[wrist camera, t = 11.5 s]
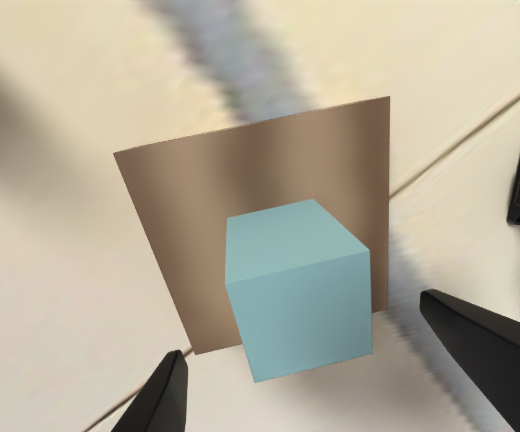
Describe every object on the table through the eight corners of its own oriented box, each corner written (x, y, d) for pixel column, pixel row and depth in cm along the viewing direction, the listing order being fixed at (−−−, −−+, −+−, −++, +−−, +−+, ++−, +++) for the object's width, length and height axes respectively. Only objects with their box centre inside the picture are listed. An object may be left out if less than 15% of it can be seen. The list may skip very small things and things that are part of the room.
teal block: (313, 198, 14) (369, 250, 8) (321, 271, 16) (372, 353, 10) (227, 217, 14) (224, 284, 8) (245, 289, 15) (254, 382, 10)
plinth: (360, 101, 15) (390, 96, 12) (366, 283, 20) (387, 309, 18) (135, 147, 15) (112, 153, 12) (200, 322, 20) (195, 355, 17)
